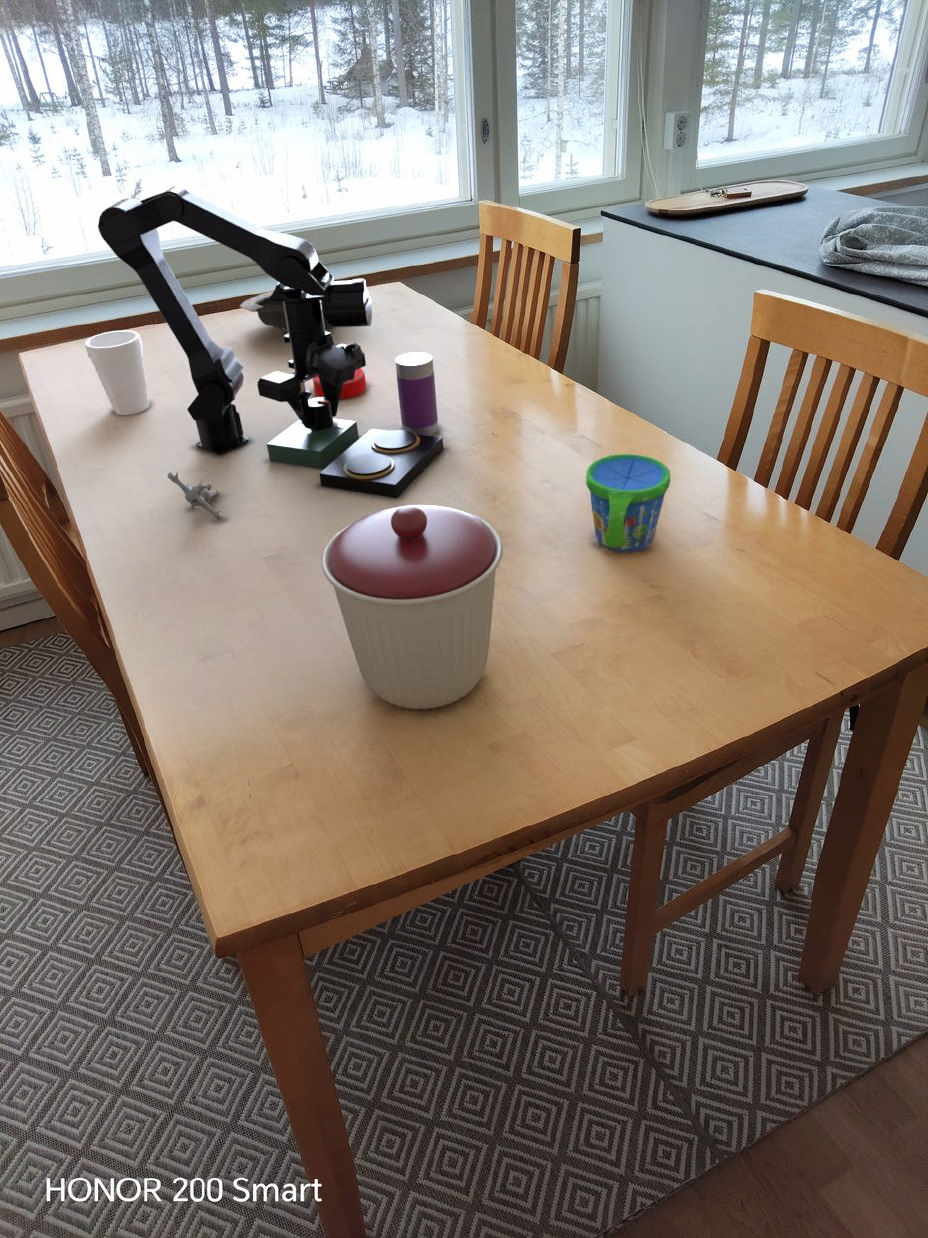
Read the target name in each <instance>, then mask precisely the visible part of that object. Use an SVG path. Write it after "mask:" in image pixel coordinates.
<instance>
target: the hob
mask: <svg viewBox="0 0 928 1238" xmlns="http://www.w3.org/2000/svg"><path fill="white" fill-rule="evenodd" d="M444 449H445V448H444V439H443V437H442V436H435V435H433V436H427V435H419V434H414V433H412V432H410V431H406V430H403V429H394V430H393V429H392V430H387V429H380V428H379V429H378V428H370V429H369V430H368V431H366V432H365V433H364V434H363V435H362V436H361V437H359V438H358V439H357V440H356V441H355V442H353V443H352V444H351V445H350V446H349V447H348V448H347V449H345V450H344V451H343V452H342V453H341V454H340V455H338V456H337V457H336V458H335V459H334V460H333V461H331V462H330V463H329V464H328V465H327V466H326V467H325V468H323V469H322V471H320V472H319V475H318V476H319V481H320V486H321V487H325V488H331V489H338V490H342V491H350V492H357V493H363V494H369V495H376V496H382V497H387V498H389V497H390V498H395V499H397V498H398V497H400V495H401V494H402V493H404V492H405V491H406V490H407V488H408V487H409V486H410V485H411V484H412V483H414V481H415V480H416V479H417V478H418V477H419V476H420V475H421V474H423V472H424V471H425V470H426V469H427V468H428V466H429V465H431V464H432V462H433V461H435V459H436V458H438V456H439V455H440V454H441V453H442V452H443V451H444Z"/></svg>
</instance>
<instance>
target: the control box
mask: <svg viewBox="0 0 928 1238" xmlns="http://www.w3.org/2000/svg"><path fill="white" fill-rule="evenodd" d="M333 422H334V424H333V425H332V426H331V427H329V428H327V429H322V430H316V429H312V428H310V429H308V428H305V426H304V425H303V423H302V422H301V420H300V419H299V418H298V420H296V421H294V422H293V424H291V425H290V426H289V427H287V428H286V429H284V430H283V431H282V432H280V433H279V434H278V435H277V436H275V437H274V438H273V439H271V440H270V441H269V442H267V443H266V448H267V453H268V454H267V455H268V458H269V462H275V463H281V464H288V465H293V466H294V465H295V466H301V467H309V468H313V469H314V468H315V469H321V470H324V469H325V468H326V467H327V466H328V465H330V464H331V463H332V462H333V461H334V460H335V459H337V458H338V457H339V456H340V455H341V454H342V453H344V452H345V451H346V450H347V449H348V448H349V447H350V446H352V445H353V444H354V443H355V442H356V441H357V440H359V439H360V436H359V427H358V421H357V420H351V419H350V420H348V419H341V418H335V417H333Z"/></svg>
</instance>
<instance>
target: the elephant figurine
mask: <svg viewBox="0 0 928 1238" xmlns="http://www.w3.org/2000/svg"><path fill="white" fill-rule="evenodd" d="M167 479H169V480H170V481H171V482H172V483H174V484H176V485H177V486H178V487H179V488H180V489H181V491H182V492H183V494H184V499H185V500H186V501H187V502H188V503H189V504H190V507H191V510H193V509H194V508H195V507H199V508H200V507H201V508H202V509H203V510H205V511H206V512H208V513H209V514H211V516H212V518H214V519H216V520H217V521H218V522H221V521H222V520H223V519H224V517H223V516H222V515H220V513H221V512H222V510H218V511H217V510H215V509H214V508H213V507H211V505H210V504H208V503H209V502H210V501H211V500H213V499H218V498H219V497H220V495H221V490H220V489H217V488H216V489H215V490H213V491H210V490H211V489H212V486H213V485H212V483H211V482H206V483H202V481H203V480H202V478H200V480H199V482H198V483H197V484H196V485H194V486H190V485H189V484H184V483H183V482H182V481H181V480H180V479H179V472H176V474H175V475H174V474H173V473H172V472H167Z"/></svg>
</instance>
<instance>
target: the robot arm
mask: <svg viewBox="0 0 928 1238" xmlns="http://www.w3.org/2000/svg"><path fill="white" fill-rule="evenodd" d="M172 222H176V223H177V224H180V225H182V226H184V227H186V228H188V229H190V230H192V231H194V232H196V233H198V234H200V235H202V236H205V237H206V238H208V239H210V240H212V241H215V242H217V243H218V244H220V245H223V246H225V247H226V248H229V249H230V250H233V251H234V252H237V253H239V254H241V255H243V256H245V257H247V258H249V259H250V260H251V261H253V262H254V263H255V264H256V265H257V266H258V267H259V268H260V269H261V271H263V272H264V273H265V274H267V275H268V276H269V277H271V278H272V279H273V280H275V281H277V282H278V283H277V284H276V285H275V287H274V290H273V291H274V292H273V293H272V294H271V295H270V297H269V298H268V300H269V301H270V302H283V306H284V312H285V317H286V323H287V329H288V330H287V334H284V335H283V342H284V343H285V344H289V346H290V352H291V358H292V359H290V360H288V361H287V365H288V368H289V369H292V370H294V372H292V373H285V372H282V371H278V370H275V371H273V372H271V373H268V374H265V375H263V376H261V377H260V378H259V379H258V381H257V384H256V385H257V391H258V394H259V395H258V396H259V397H263V398H266V399H269V400H273V401H276V402H279V403H287V404H288V405H289V406H290V408H291V409H292V410H293V412H294V413H295V415H296V416H297V418H298V420H299V419H300V420H301V422H302V423H303V425H304V426H305V428H308V429H310V428H311V416H310V410H309V403H308V400H310V397H311V396H312V394H313V392H312V391H308V390H306V385H305V384H306V382H308V381H310V380H313V378H315V377H317V376H319V380H320V384H321V387H322V391H323V394H324V397H325V398H328V399H330V402H331V409H332V416H333V418H335V417H337V415H338V409H339V404H340V395H341V391H342V387H343V384H344V383H345V382H346V381H348V380H353V379H354V378H355V371H356V370H357V369H360V368H361V369H363V368H364V367H366V366H367V362H366V354H365V353H364V352H363V350H362V348H361V345H360V344H359V343H356V342H351V343H349V344H344V343H340V344H338V345H337V344H336V345H335V342H334V338H333V337H334V336H333V335H332V332H330V331H329V332H328V331H326V330H325V326H324V320H323V313H322V306H321V300H322V301H323V311H324V317H325V320H326V321H328V324H329V325H331V324H332V326H333V329H334V328H359V327H360V328H361V327H371V325H372V321H373V308H372V296H370V294H369V290H368V287H367V284H366V279H365V278H356V279H352V280H335V277H334V275H333V274H332V273H331V272H330V271H329V270H328V269H327V268H326V266H325V265H324V264H323V263H322V261H321V260H320V259H319V257H318V254H317V251H316V249H315V246H314V245H313V244H312V243H311V242H309V240H306V239H303V238H301V237H297V236H294V235H291V234H288V233H284V232H277V231H271V230H270V231H269V230H268V229H267V230H266V229H265V228H260V227H258V226H257V225H255V224H253V223H251V222H249V221H247V220H244V219H243V218H241V217H239V216H237V215H235V214H233V213H230V212H229V211H226V210H225V209H222V208H221V207H219V206H217V205H216V204H215V205H214V204H213V203H211V202H209V201H206V200H205V199H203V198H202V197H199V196H196V195H195V194H193V193H190V191H188V190H187V189H186V188H184V187H182V186H179V185H176V186H172V187H170V188H168V189H167V190H166V191H163V192H160V193H158V194H155V195H151V196H149V197H146V198H144V199H142V200H140V201H139V200H137V199H135V198H127V197H126V198H124V199H121V200H119V201H117V202H116V203H114V204H112V205H109V207H107V208H105V209H104V210H103V211H102V212H101V213H100V215H99V218H98V224H97V228H98V232H99V234H100V236H101V238H102V239H103V241H104V242H105V244H106V245H108V247H109V248H110V249H111V251H112V252H113V253H114V254H115V255H116V257H117V258H118V259H119V260H120V261H122V262H123V263H124V264H126V265H127V266H128V267H129V268H131V269H132V270H133V271H134V272H135V273H136V274H137V277H139V279H140V280H141V282H142V284H143V286H144V287H145V289H146V291H147V292H148V294H149V295H150V297H151V299H152V301H153V302H154V304H155V305H156V307H157V309H158V310H159V312H160V314H161V315H162V317H163V319H164V320H165V322H166V324H167V326H168V327H169V329H170V331H171V332H172V333H173V335H174V337H175V339H176V340H177V342H178V344H179V345H180V348H181V349H182V350H183V352H184V354H185V355H186V357H187V360H188V366H189V370H190V376H191V380H192V382H193V384H194V385H193V386H194V388H195V389H196V392H197V396H196V397H195V398H194V399H193V401H192V402H191V403H190V405H189V406H188V407H187V408H186V409H187V412H188V413H189V415H190V417H191V419H192V420H193V421H195V424H196V429H197V432H198V437H199V441H198V442H196V443H195V446H196V448H199V449H201V450H204V451H206V452H210V453H212V454H215V455H223V454H225V453H227V452H229V451H232V450H234V449H235V448H238V447H240V446H242V445H245V444H246V443H249V438H248V437H247V436H244V430H243V429H244V428H243V424H242V420H241V416H240V415H241V414H240V412H239V411H237V406H236V405H235V404H234V403H233V402H234V401H235V399H236V395H237V394H239V392H240V390H241V388H242V387H243V383H244V378H245V377H244V374H243V372H242V371H243V369H244V366H243V365H242V364H241V363H240V362H239V361H238V359H237V358H236V355H235V352H234V350H233V348H232V347H231V346H230V345H229V346H227V347H226V348H225V349H223V348H221V347H220V346H219V345H217V344H216V343H215V342H214V341H213V339H212V337H211V336H210V334H209V333H208V331H207V329H206V328H205V326H204V323H202V321H201V319H200V317H199V315H198V314H197V312H196V310H195V309H194V307H193V305H192V303H191V302H190V300H189V299H188V296H187V294H186V293H185V291H184V290H183V288H182V286H181V284H180V283H179V281H178V279H177V278H176V277H175V274H174V273H173V271H172V269H171V267H170V265H169V264H168V262H167V261H166V259H165V256H164V254H163V249H162V243H161V238H160V233H159V231H158V228H160V227H162V226H163V227H164V226H165V225H168V224H170V223H172ZM334 280H335V281H334Z"/></svg>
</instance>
